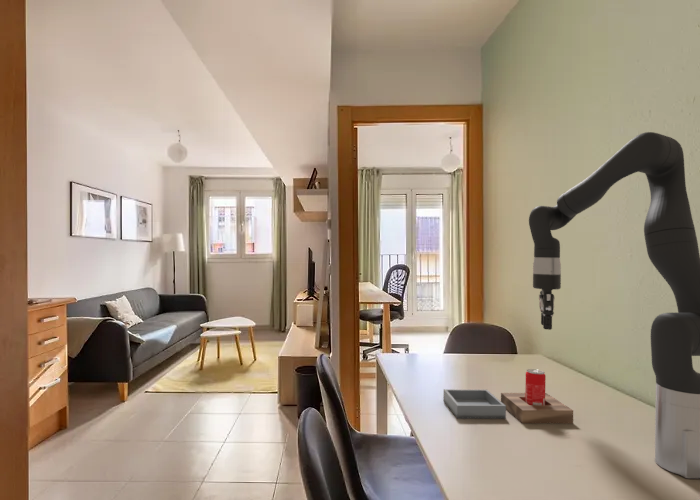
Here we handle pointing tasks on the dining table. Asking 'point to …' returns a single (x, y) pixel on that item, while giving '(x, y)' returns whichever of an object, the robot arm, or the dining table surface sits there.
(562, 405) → the socket holder
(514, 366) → the dining table surface
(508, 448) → the dining table surface
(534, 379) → the beverage can
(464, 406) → the tray
